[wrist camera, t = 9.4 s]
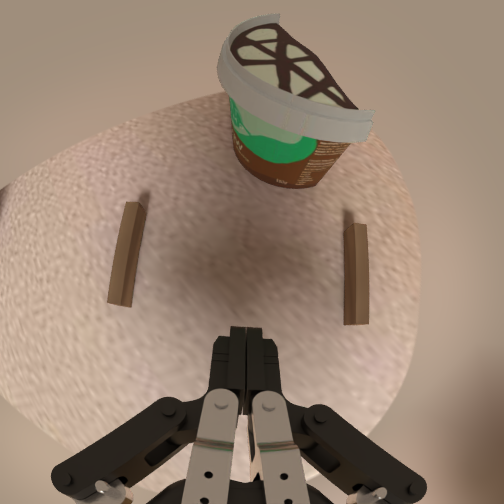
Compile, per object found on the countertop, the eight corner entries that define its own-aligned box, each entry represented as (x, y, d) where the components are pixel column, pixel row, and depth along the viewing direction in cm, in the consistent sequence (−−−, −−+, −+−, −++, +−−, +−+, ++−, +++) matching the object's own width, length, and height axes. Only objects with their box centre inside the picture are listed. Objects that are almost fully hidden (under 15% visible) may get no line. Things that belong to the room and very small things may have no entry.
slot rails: (118, 305, 18) (107, 302, 16) (134, 212, 19) (126, 201, 18) (355, 325, 19) (368, 324, 17) (355, 233, 20) (366, 224, 19)
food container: (200, 111, 23) (194, 19, 13) (262, 96, 24) (276, 10, 14) (251, 226, 20) (270, 138, 10) (323, 201, 21) (381, 118, 11)
